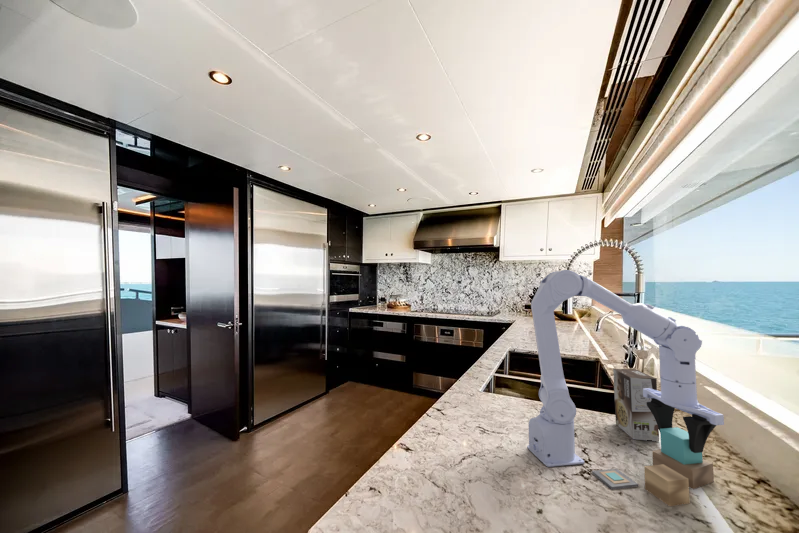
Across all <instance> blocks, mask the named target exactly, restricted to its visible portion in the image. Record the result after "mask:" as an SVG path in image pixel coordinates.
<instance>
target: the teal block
mask: <svg viewBox="0 0 799 533" xmlns="http://www.w3.org/2000/svg"><path fill="white" fill-rule="evenodd" d="M659 437H660V449H661V452H662V453H664V454H666V455H668V456H670V457H671V458H673V459H675V460H677V461H679V462H680V463H682V464H684V465H685V464H695V463H703V459H704V458H703V452H701V453H694V452H692V451H691V449H690V445H689V434H688V430H684V429H683V428H680V427H678V426H676V427H672V428H663V429H660V431H659Z"/></svg>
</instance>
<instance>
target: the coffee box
mask: <svg viewBox="0 0 799 533" xmlns="http://www.w3.org/2000/svg"><path fill="white" fill-rule="evenodd" d="M612 371H613V372H612V373H613V391H614V392H613V393H614V394H613V395H614V410H615V411H614V412H615V425H616V424H617V427H619V428H620V429H621V430H622V431H623V432H624V433H626V434H627V435H628V436H629V437H630V438H631V439H633V440H638V441H639V440H641V441H647V440H652V441H651V442H655V441H659V442H660V431H659V428H658V425H657V423H656V420H655V418H654V416H653V414H652V412H651V411H650V409H649V408H648V406H647V402H651V398H646V397H643V389H645V388H651V389H654V390H657V391H658V385H657V382H658V380H657V378H655V377H654V376H651V375H649V374H647V373H645V372H642V371H641V370H639V369H633V368H613V369H612Z"/></svg>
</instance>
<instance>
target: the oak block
mask: <svg viewBox="0 0 799 533" xmlns="http://www.w3.org/2000/svg"><path fill="white" fill-rule="evenodd" d="M643 469H644V470H643V472H644V489H645V490H646V491H647V492H648V493H650V494H651V495H653V496H654V497H655V498H657V499H658V500H659V501H661V502H663V503H665V505H667V506H668V507H672V506H673V507H675V506H682V504H683V505H688V504H690V502H691V500H690V487H689V481H688V478H686V477H684V476H683V475H681V474H679V473H677V472H676V471H674V470H672V469H671V468H669V467H667V466H665V465H664V464H661V465H653V464H652V465H644V466H643Z"/></svg>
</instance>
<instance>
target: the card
mask: <svg viewBox="0 0 799 533" xmlns="http://www.w3.org/2000/svg"><path fill="white" fill-rule="evenodd" d="M591 474H593V475H594V476H595V477H596V478H597V479H598V480H600V482H602V483H604V485H606V486H607V487H608V488H609V489H611V491H612V490H620V489H629V488H638V487H639V483H637V482H636V480H635V481H634V480H633V479H632V478H631V477H629V476H627V475H626V474H625V473H623V472H622V471H621V470H619V469H618V468H610V469H609V468H608V469H599V470H598V469H597V470H592V471H591Z"/></svg>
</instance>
